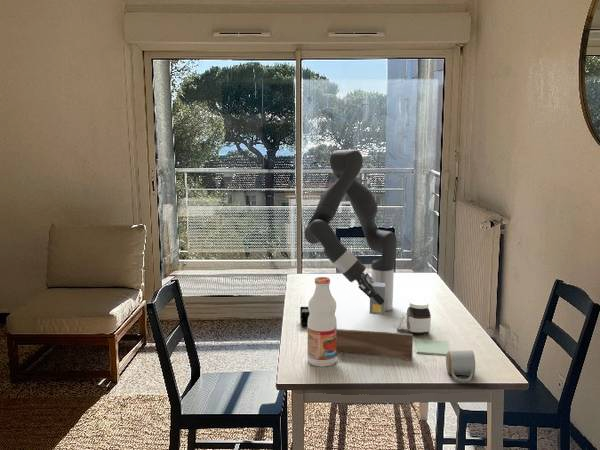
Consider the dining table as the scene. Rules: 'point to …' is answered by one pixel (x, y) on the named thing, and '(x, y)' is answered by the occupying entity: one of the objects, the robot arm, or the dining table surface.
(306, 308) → the end cap
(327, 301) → the fruit juice
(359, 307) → the dining table surface
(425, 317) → the spread jar
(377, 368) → the dining table surface
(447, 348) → the sage mat
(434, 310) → the dining table surface
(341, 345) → the walnut screen
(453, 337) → the dining table surface
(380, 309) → the slate block
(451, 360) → the ceramic mug
